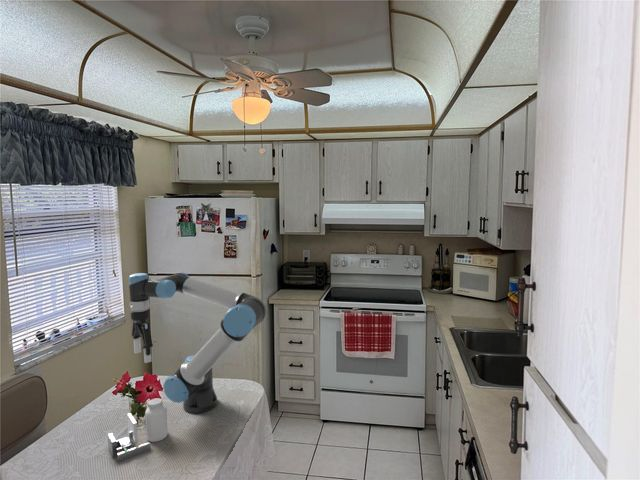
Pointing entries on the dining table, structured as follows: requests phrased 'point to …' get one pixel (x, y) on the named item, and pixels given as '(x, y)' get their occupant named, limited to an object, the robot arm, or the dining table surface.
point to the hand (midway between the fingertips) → (142, 357)
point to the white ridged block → (120, 452)
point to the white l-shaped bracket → (130, 433)
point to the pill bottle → (156, 420)
